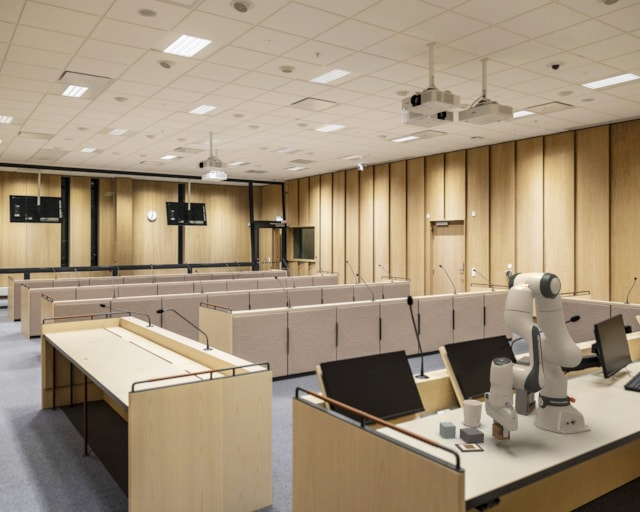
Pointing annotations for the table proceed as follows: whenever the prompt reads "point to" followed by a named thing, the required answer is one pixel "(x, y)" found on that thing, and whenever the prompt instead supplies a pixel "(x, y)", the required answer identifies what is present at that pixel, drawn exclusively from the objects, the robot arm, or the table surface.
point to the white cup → (472, 412)
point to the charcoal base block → (471, 435)
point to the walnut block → (499, 432)
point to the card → (469, 447)
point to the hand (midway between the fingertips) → (501, 433)
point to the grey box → (524, 394)
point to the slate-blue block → (447, 430)
